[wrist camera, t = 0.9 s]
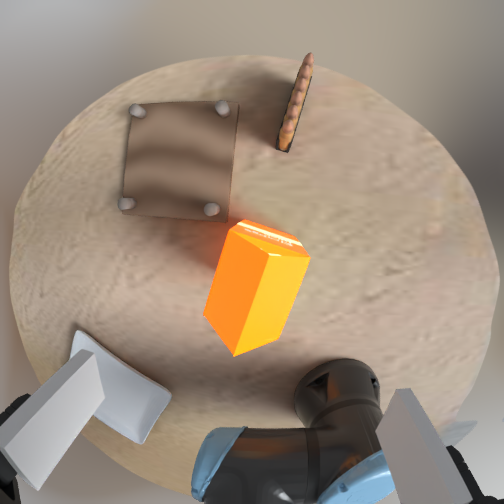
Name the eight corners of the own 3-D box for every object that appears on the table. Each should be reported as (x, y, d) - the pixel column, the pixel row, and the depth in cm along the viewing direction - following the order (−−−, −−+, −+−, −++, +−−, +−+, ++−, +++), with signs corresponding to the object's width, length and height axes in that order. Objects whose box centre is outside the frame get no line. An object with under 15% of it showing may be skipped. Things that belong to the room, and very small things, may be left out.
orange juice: (224, 276, 41) (186, 341, 21) (243, 218, 39) (217, 235, 19) (275, 293, 41) (280, 371, 21) (296, 236, 39) (323, 271, 19)
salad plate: (69, 386, 48) (62, 393, 45) (84, 321, 44) (74, 328, 41) (146, 437, 49) (141, 447, 46) (179, 383, 45) (173, 395, 42)
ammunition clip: (288, 153, 37) (296, 132, 25) (275, 149, 37) (277, 127, 25) (307, 88, 35) (321, 49, 23) (295, 84, 35) (304, 44, 23)
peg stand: (227, 221, 39) (222, 224, 35) (126, 213, 40) (111, 215, 35) (239, 105, 36) (235, 94, 32) (138, 107, 37) (125, 99, 32)
